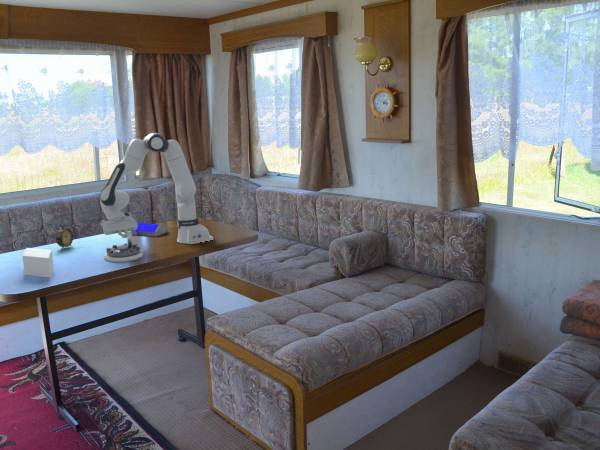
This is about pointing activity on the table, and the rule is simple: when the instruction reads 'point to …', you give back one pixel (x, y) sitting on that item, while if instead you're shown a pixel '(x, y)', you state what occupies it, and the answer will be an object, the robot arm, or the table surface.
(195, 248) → the table surface
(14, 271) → the table surface
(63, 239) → the alarm clock
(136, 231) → the blue screen device
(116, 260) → the base plate
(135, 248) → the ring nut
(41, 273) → the white box
